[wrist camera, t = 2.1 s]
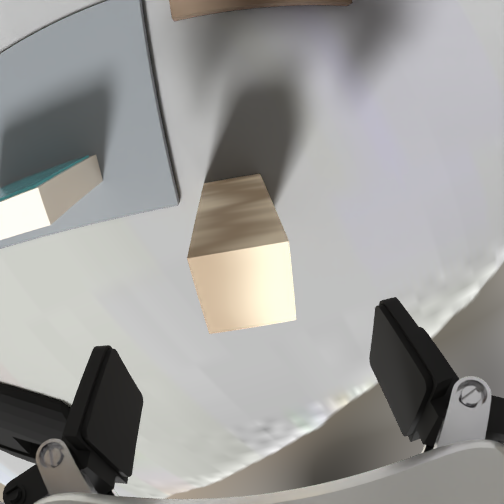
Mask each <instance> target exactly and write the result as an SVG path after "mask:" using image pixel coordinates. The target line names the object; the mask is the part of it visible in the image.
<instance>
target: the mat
mask: <svg viewBox="0 0 504 504" xmlns="http://www.w3.org/2000/svg"><path fill="white" fill-rule="evenodd" d="M87 155H89V156H92V155H96V156H97V160H98V164H99V168H100V171H101V175H102V179H103V181H102V182H101V183H100V184H98V185H97V186H96V187H95V188H93V189H92V190H91V191H90V192H88V193H87V194H86V195H85V196H84V197H82V198H81V199H80V200H79V201H78V202H76V203H75V204H74V205H73V206H72V207H71V208H69V209H68V210H67V211H66V212H65V213H64V214H62V215H61V216H60V217H59V218H58V219H57V220H56V221H55V222H54V223H52V224H51V225H49V226H46V227H42V228H39V229H35V230H32V231H28V232H25V233H22V234H18V235H15V236H12V237H9V238H6V239H2V240H0V249H1V248H5V247H8V246H11V245H15V244H18V243H22V242H26V241H29V240H33V239H36V238H40V237H44V236H48V235H51V234H55V233H59V232H63V231H67V230H71V229H75V228H79V227H83V226H87V225H91V224H95V223H99V222H104V221H108V220H112V219H117V218H121V217H125V216H130V215H134V214H139V213H144V212H148V211H153V210H158V209H163V208H168V207H173V206H178V205H179V202H180V201H179V197H178V192H177V188H176V184H175V180H174V175H173V171H172V166H171V162H170V157H169V153H168V148H167V143H166V139H165V134H164V129H163V124H162V119H161V114H160V109H159V104H158V99H157V93H156V88H155V82H154V77H153V71H152V65H151V59H150V53H149V47H148V41H147V35H146V28H145V21H144V14H143V7H142V0H108V1H105V2H102V3H100V4H97V5H95V6H92V7H90V8H87V9H85V10H82V11H80V12H78V13H75V14H73V15H71V16H69V17H66V18H64V19H62V20H60V21H58V22H56V23H54V24H52V25H50V26H48V27H46V28H44V29H42V30H40V31H38V32H36V33H34V34H33V35H31V36H29V37H27V38H25V39H24V40H22V41H20V42H18V43H17V44H15V45H13V46H12V47H10V48H9V49H7V50H5V51H4V52H2V53H1V54H0V188H2V187H4V186H7V185H9V184H11V183H14V182H16V181H19V180H21V179H23V178H26V177H28V176H31V175H33V174H36V173H39V172H41V171H44V170H46V169H49V168H52V167H55V166H57V165H60V164H63V163H66V162H69V161H72V160H75V159H78V158H81V157H84V156H87Z"/></svg>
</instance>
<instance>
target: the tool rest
mask: <svg viewBox="0 0 504 504" xmlns="http://www.w3.org/2000/svg"><path fill="white" fill-rule="evenodd" d="M169 2H170V8H171V15H172V19H173V20H174V21H178V20H182V19H187V18H192V17H197V16H202V15H208V14H214V13H220V12H227V11H234V10H242V9H251V8H262V7H275V6H295V5H334V6H348V5H350V4H351V3H352V0H169Z"/></svg>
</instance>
